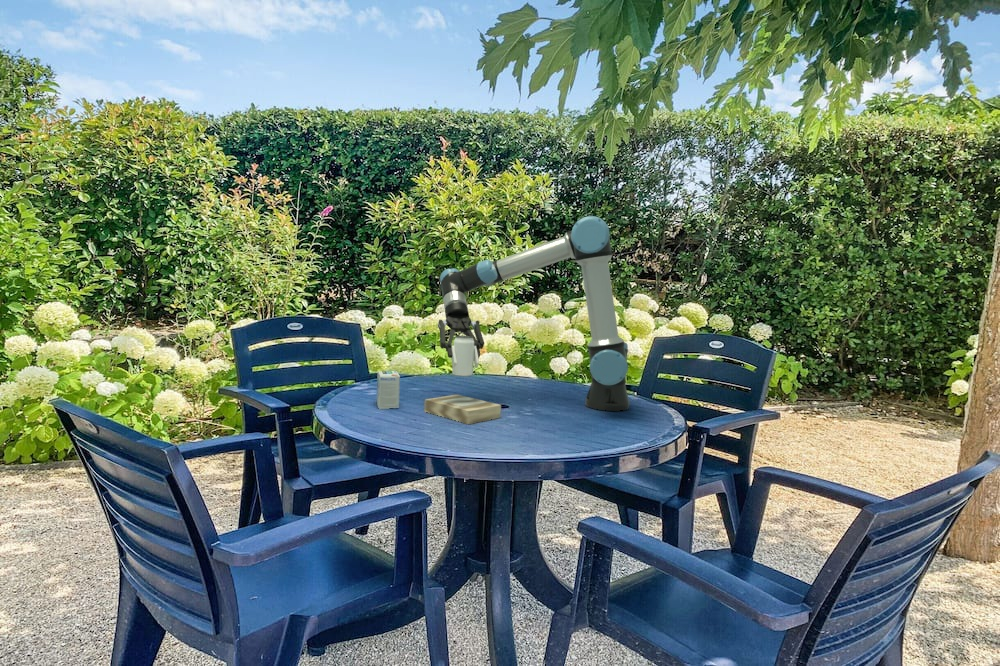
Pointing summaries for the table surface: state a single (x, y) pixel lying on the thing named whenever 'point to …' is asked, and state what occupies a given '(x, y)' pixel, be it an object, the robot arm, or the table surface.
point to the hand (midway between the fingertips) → (466, 365)
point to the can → (464, 355)
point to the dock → (463, 408)
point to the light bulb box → (388, 389)
